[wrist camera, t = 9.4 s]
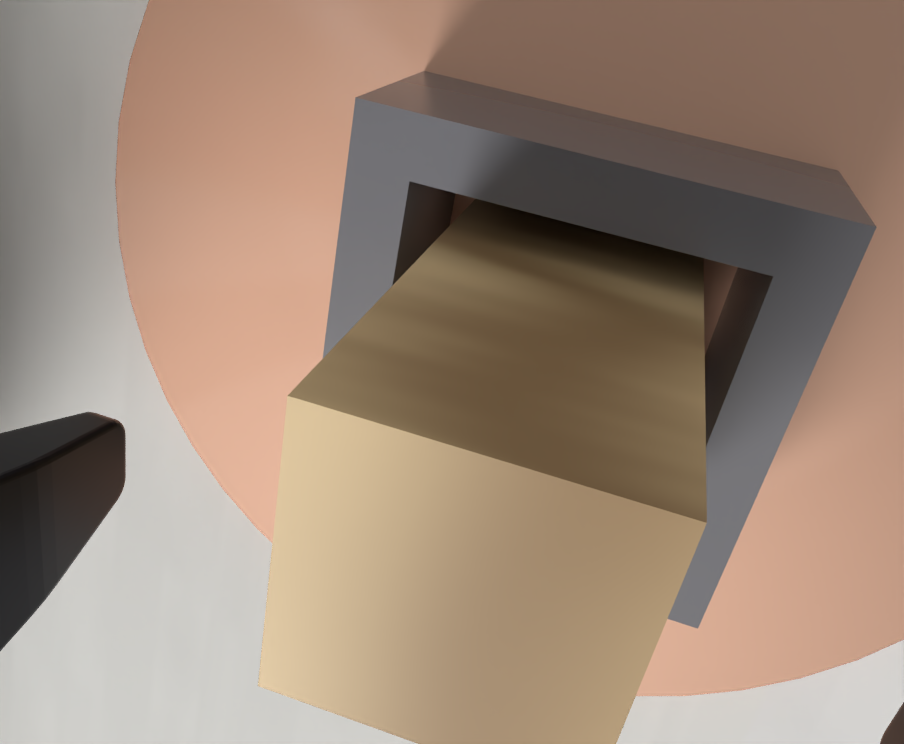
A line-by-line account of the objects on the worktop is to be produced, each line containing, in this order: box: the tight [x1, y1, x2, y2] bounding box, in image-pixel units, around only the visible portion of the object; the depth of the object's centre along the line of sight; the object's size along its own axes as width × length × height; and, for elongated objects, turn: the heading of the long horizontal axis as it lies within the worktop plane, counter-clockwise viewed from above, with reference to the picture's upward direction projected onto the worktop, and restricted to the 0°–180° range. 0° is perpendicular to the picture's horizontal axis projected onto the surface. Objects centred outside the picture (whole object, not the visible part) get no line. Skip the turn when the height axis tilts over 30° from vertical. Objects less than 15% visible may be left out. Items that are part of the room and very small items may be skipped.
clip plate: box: [115, 0, 904, 696], centre depth 15 cm, size 20×20×4 cm
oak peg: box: [258, 199, 707, 744], centre depth 13 cm, size 4×4×9 cm
